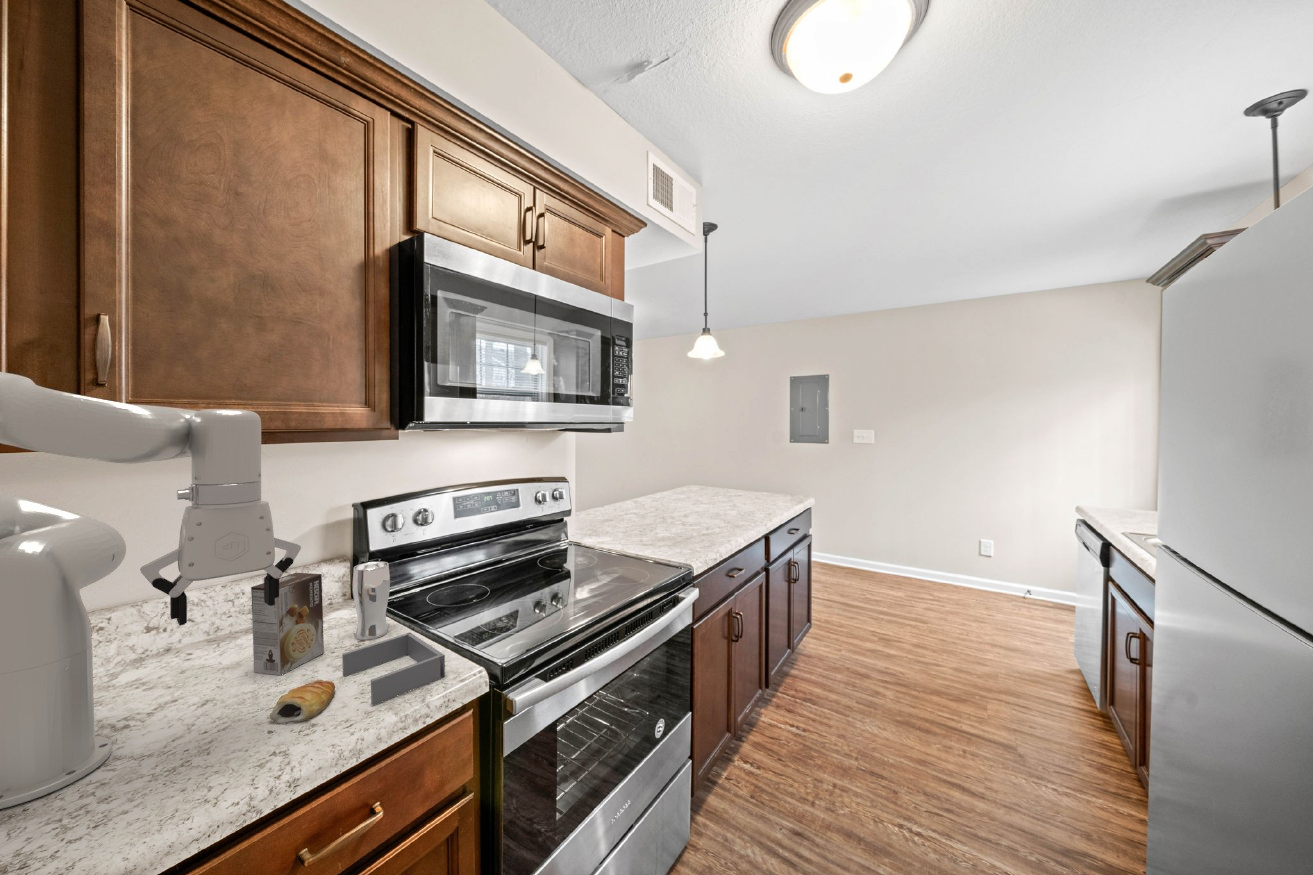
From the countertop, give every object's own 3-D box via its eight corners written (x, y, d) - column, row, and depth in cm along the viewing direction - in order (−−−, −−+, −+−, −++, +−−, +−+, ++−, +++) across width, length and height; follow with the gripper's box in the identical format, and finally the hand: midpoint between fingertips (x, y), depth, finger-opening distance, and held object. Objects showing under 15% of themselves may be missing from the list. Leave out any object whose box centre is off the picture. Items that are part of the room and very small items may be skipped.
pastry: (306, 692, 82) (306, 669, 82) (347, 691, 83) (347, 669, 83) (265, 726, 73) (265, 701, 73) (311, 724, 73) (311, 700, 73)
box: (373, 705, 78) (372, 681, 78) (342, 675, 87) (342, 653, 87) (444, 676, 87) (444, 654, 87) (410, 652, 96) (410, 632, 96)
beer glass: (345, 637, 103) (344, 568, 102) (375, 625, 109) (375, 559, 109) (368, 643, 100) (367, 571, 100) (397, 630, 107) (396, 563, 106)
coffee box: (298, 650, 97) (297, 571, 97) (325, 653, 96) (323, 573, 96) (251, 673, 88) (250, 586, 88) (280, 676, 87) (278, 588, 86)
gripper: (142, 504, 61) (142, 639, 61) (307, 491, 74) (307, 602, 74) (137, 498, 65) (138, 623, 66) (293, 487, 79) (293, 591, 79)
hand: (227, 612), depth 70 cm, fingers open, 9 cm apart
